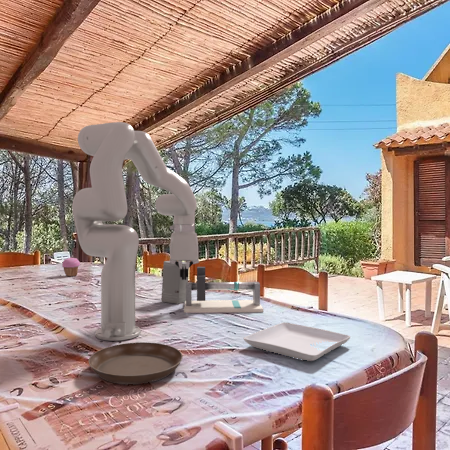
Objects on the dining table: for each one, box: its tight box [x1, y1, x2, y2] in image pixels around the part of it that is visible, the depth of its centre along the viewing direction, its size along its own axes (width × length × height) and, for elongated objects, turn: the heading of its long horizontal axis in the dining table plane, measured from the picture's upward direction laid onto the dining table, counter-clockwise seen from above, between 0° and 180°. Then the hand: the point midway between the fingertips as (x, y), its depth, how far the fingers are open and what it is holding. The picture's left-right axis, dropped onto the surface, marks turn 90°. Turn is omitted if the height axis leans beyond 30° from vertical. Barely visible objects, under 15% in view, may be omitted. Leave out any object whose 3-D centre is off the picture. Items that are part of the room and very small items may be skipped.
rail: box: [186, 281, 261, 306], centre depth 151 cm, size 4×27×8 cm, turn 94°
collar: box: [196, 266, 206, 301], centre depth 150 cm, size 9×3×11 cm, turn 4°
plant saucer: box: [88, 341, 184, 385], centre depth 92 cm, size 21×21×3 cm
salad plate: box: [243, 322, 351, 362], centre depth 108 cm, size 21×21×3 cm
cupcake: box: [61, 257, 81, 277], centre depth 219 cm, size 9×9×10 cm
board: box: [183, 299, 264, 314], centre depth 151 cm, size 14×28×1 cm, turn 94°
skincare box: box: [161, 260, 190, 305], centre depth 160 cm, size 8×7×16 cm
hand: (184, 279), depth 149 cm, fingers closed
